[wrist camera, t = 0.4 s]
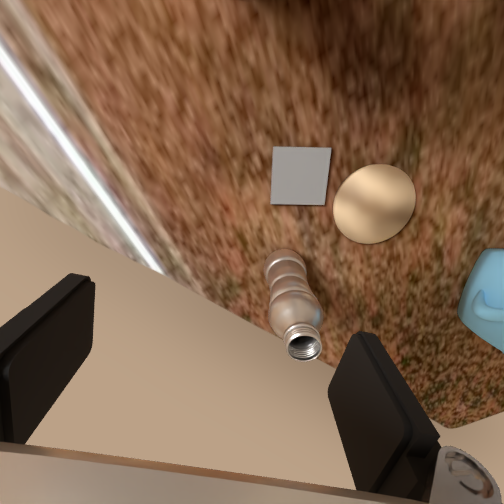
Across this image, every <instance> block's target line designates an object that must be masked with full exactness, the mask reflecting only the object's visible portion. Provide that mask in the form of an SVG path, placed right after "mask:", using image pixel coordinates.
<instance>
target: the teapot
mask: <svg viewBox="0 0 504 504" xmlns="http://www.w3.org/2000/svg"><path fill="white" fill-rule="evenodd" d="M457 314H458V316H459V318H460V319H461V321H462V322H463V323H464V324H465V325H466V326H467V327H468V328H469V329H470V330H472V331H473V332H474V333H475V334H477V335H478V336H479V337H481V338H482V339H483V340H485V341H486V342H488V343H489V344H491V345H493V346H494V347H496V348H497V349H499V350H501V351H502V352H503V354H504V249H503V248H489V249H485V250H484V251H483V252H482V253H481V255H480V256H479V258H478V260H477V261H476V262H475V265H474V267H473V269H472V271H471V273H470V275H469V277H468V280H467V282H466V284H465V287H464V290H463V292H462V296H461V299H460V302H459V305H458V309H457Z"/></svg>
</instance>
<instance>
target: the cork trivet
mask: <svg viewBox="0 0 504 504" xmlns="http://www.w3.org/2000/svg"><path fill="white" fill-rule="evenodd" d="M415 200H416V195H415V188H414V186H413V183H412V181H411V179H410V178H409V177H408V175H407V174H406V173H404V172H403V171H402V170H400V169H398V168H396V167H394V166H390V165H386V164H373V165H368V166H365V167H362V168H360V169H358V170H356V171H355V172H353V173H352V174H351V175H349V176H348V177H347V178H346V179H345V180H344V181H343V183H342V184H341V185H340V187H339V189H338V190H337V192H336V195H335V198H334V202H333V217H334V220H335V223H336V225H337V227H338V228H339V230H340V231H341V232H342V233H343V234H344V235H345V236H346V237H347V238H349V239H351V240H353V241H355V242H358V243H364V244H372V243H378V242H382V241H384V240H387V239H389V238H391V237H392V236H394V235H395V234H397V233H398V232H399V231H400V230H401V229H402V228H403V227H404V226H405V225H406V224H407V222H408V221H409V219H410V217H411V215H412V213H413V210H414V207H415Z"/></svg>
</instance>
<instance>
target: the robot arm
mask: <svg viewBox="0 0 504 504" xmlns="http://www.w3.org/2000/svg"><path fill="white" fill-rule="evenodd" d="M94 300H95V283H94V282H91V279H90V277H89V276H83V275H78V274H73V273H70V274H68V275H67V276H66V277H65V278H63V279H62V280H61V281H60V282H58V283H57V284H56V285H55V286H53V287H52V288H51V289H50V290H48V291H47V292H46V293H45V294H43V295H42V296H41V297H40V298H38V299H37V300H36V301H34V302H33V303H32V304H31V305H29V306H28V307H26V308H25V309H23V310H22V311H21V312H19V313H18V314H17V315H16V316H14V317H13V318H12V319H10V320H9V321H8V322H7V323H6V324H4V325H3V326H2V327H0V504H502V502H501V494H500V489H499V487H498V485H497V483H496V482H495V480H494V478H493V477H492V476H491V474H490V473H489V472H488V470H487V469H486V468H484V466H483V465H482V464H481V463H479V461H477V460H476V459H475V458H473V457H472V456H471V455H470V454H467V453H466V452H464V451H463V450H461V449H458V448H455V447H452V446H444V447H441V446H440V444H439V443H438V441H437V440H438V439H439V437H440V435H439V433H438V432H437V430H436V429H435V427H434V426H433V424H432V422H431V421H430V419H429V418H428V416H427V415H426V413H425V411H424V410H423V408H422V407H421V405H420V403H419V402H418V400H417V399H416V397H415V396H414V394H413V392H412V391H411V389H410V388H409V386H408V384H407V383H406V381H405V380H404V378H403V377H402V375H401V373H400V372H399V370H398V369H397V367H396V365H395V364H394V362H393V361H392V359H391V358H390V356H389V354H388V353H387V351H386V350H385V348H384V346H383V345H382V343H381V342H380V340H379V339H378V337H377V336H376V335H375V334H372V333H367V332H362V331H358V332H357V333H356V334H353V335H352V336H351V338H350V340H349V343H348V345H347V347H346V349H345V352H344V354H343V356H342V358H341V360H340V363H339V365H338V367H337V369H336V371H335V374H334V376H333V378H332V380H331V383H330V385H329V387H328V398H329V401H330V404H331V408H332V411H333V414H334V418H335V421H336V424H337V427H338V431H339V434H340V437H341V440H342V444H343V447H344V451H345V454H346V457H347V460H348V464H349V467H350V470H351V473H352V477H353V480H354V483H355V487H356V490H351V489H344V488H337V487H330V486H324V485H317V484H310V483H303V482H297V481H289V480H283V479H276V478H269V477H262V476H255V475H247V474H241V473H234V472H227V471H220V470H213V469H206V468H199V467H192V466H185V465H177V464H171V463H163V462H155V461H149V460H141V459H134V458H127V457H119V456H112V455H104V454H97V453H89V452H82V451H75V450H67V449H58V448H50V447H41V446H33V445H24V444H25V443H26V442H27V440H28V439H29V437H30V436H31V435H32V433H33V432H34V430H35V429H36V428H37V426H38V425H39V423H40V422H41V421H42V419H43V418H44V416H45V415H46V414H47V412H48V411H49V410H50V408H51V407H52V405H53V404H54V402H55V401H56V400H57V398H58V397H59V396H60V394H61V393H62V391H63V390H64V388H65V387H66V385H67V384H68V383H69V382H70V380H71V379H72V377H73V376H74V375H75V373H76V372H77V370H78V369H79V368H80V366H81V365H82V363H83V362H84V361H85V359H86V358H87V356H88V355H89V353H90V351H91V348H92V341H93V322H94Z"/></svg>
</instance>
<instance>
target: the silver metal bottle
mask: <svg viewBox="0 0 504 504" xmlns="http://www.w3.org/2000/svg"><path fill="white" fill-rule="evenodd" d="M264 274H265V277H266V280H267V282H268V284H269V287H270V306H269V322H270V325H271V327H272V328H273V330H274V331H275V333H276V334H277V335H278V336H280V337H281V338H283V340H284V344H285V346H286V350H287V353H288V355H289V356H290V357H291V358H292V359H294V360H296V361H299V362H308V361H311V360H314V359H315V358H317V357H318V356H319V355H320V353H321V351H322V344H321V341H320V335H319V331H320V329H321V327H322V324H323V310H322V307H321V305H320V303H319V301H318V300H317V298H316V297H315V296H314V294H313V293H312V291H311V289H310V287H309V285H308V282H307V277H306V276H307V271H306V265H305V262H304V260H303V259H302V258H301V257H300V255H299V254H297V253H296V252H294V251H293V250H289V249H279V250H276V251H274V252H273V253H271V254H270V255H269V256H268V258H267V259H266V262H265V265H264Z"/></svg>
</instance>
